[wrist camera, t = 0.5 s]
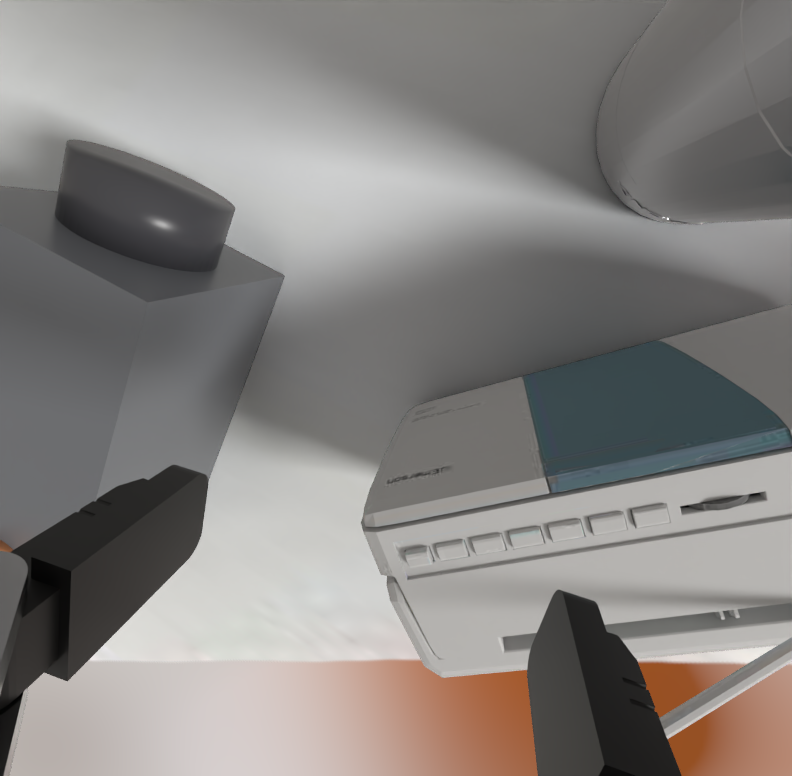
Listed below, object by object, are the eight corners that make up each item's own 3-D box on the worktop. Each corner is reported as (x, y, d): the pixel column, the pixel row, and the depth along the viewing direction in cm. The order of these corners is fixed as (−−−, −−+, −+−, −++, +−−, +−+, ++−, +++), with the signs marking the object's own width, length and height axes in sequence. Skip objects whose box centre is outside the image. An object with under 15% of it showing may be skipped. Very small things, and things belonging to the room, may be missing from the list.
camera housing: (152, 150, 27) (-119, 81, 15) (302, 228, 27) (148, 222, 15) (80, 455, 35) (-134, 570, 23) (194, 517, 35) (39, 666, 23)
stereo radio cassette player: (795, 287, 23) (2024, 493, 5) (814, 433, 25) (1738, 997, 7) (406, 394, 29) (254, 680, 10) (446, 507, 31) (379, 922, 12)
